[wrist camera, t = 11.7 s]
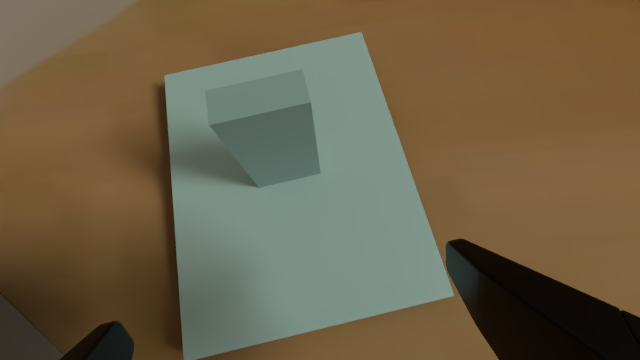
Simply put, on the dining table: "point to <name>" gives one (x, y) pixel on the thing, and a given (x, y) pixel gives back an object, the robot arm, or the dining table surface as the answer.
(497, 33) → the dining table surface
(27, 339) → the tub
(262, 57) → the lid
